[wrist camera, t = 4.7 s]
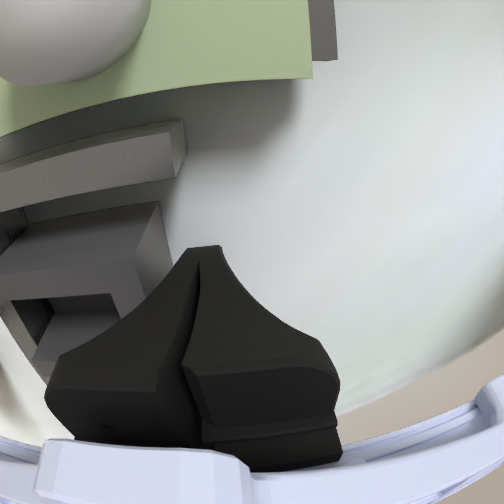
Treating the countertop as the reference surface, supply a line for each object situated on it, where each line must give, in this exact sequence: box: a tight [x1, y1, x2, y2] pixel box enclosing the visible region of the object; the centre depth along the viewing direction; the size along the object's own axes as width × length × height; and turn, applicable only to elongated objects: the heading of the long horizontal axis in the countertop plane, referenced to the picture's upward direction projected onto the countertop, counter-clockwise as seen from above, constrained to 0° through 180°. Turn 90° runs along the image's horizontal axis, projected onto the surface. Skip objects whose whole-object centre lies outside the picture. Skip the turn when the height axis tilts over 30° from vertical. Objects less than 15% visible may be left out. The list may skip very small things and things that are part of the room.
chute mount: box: [0, 119, 187, 385], centre depth 11 cm, size 9×11×3 cm
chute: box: [0, 201, 173, 377], centre depth 10 cm, size 6×5×4 cm
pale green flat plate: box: [0, 0, 338, 137], centre depth 6 cm, size 12×6×4 cm, turn 94°
